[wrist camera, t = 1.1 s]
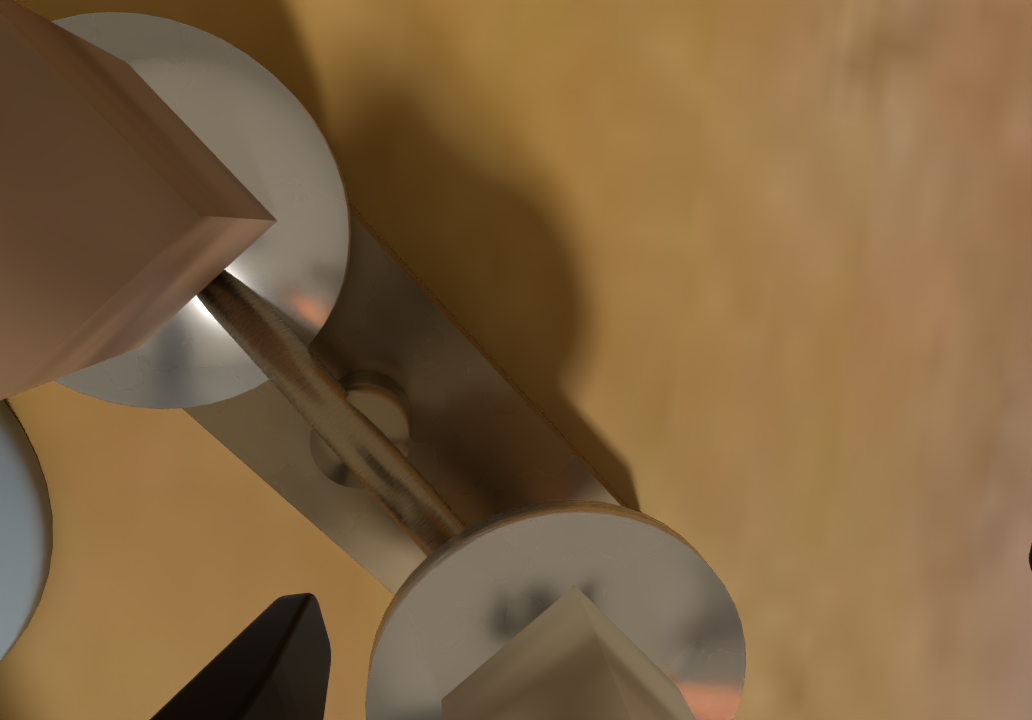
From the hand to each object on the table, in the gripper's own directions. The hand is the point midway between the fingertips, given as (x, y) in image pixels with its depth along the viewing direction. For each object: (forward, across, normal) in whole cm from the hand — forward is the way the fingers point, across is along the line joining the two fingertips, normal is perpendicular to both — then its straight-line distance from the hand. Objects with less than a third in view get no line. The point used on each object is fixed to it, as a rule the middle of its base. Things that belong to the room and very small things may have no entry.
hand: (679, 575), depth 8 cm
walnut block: (+9, +10, -4) cm, 14 cm away
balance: (+12, +6, +2) cm, 14 cm away
